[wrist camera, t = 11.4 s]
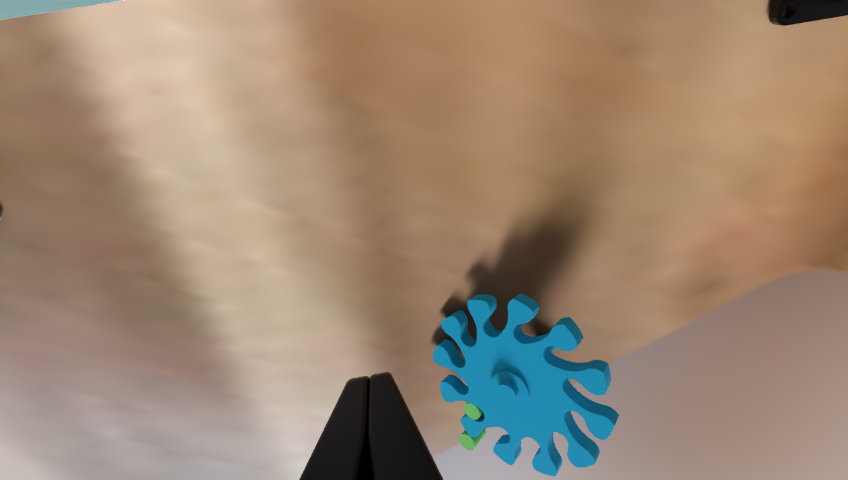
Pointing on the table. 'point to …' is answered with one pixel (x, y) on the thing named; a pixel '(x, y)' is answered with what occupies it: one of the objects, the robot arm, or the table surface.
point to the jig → (42, 6)
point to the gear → (523, 384)
